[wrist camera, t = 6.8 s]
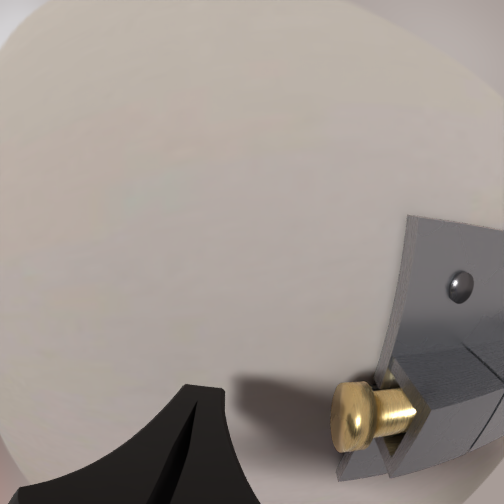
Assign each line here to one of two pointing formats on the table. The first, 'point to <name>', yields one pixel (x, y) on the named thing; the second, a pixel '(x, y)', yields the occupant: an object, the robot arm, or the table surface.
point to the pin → (367, 415)
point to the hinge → (441, 349)
